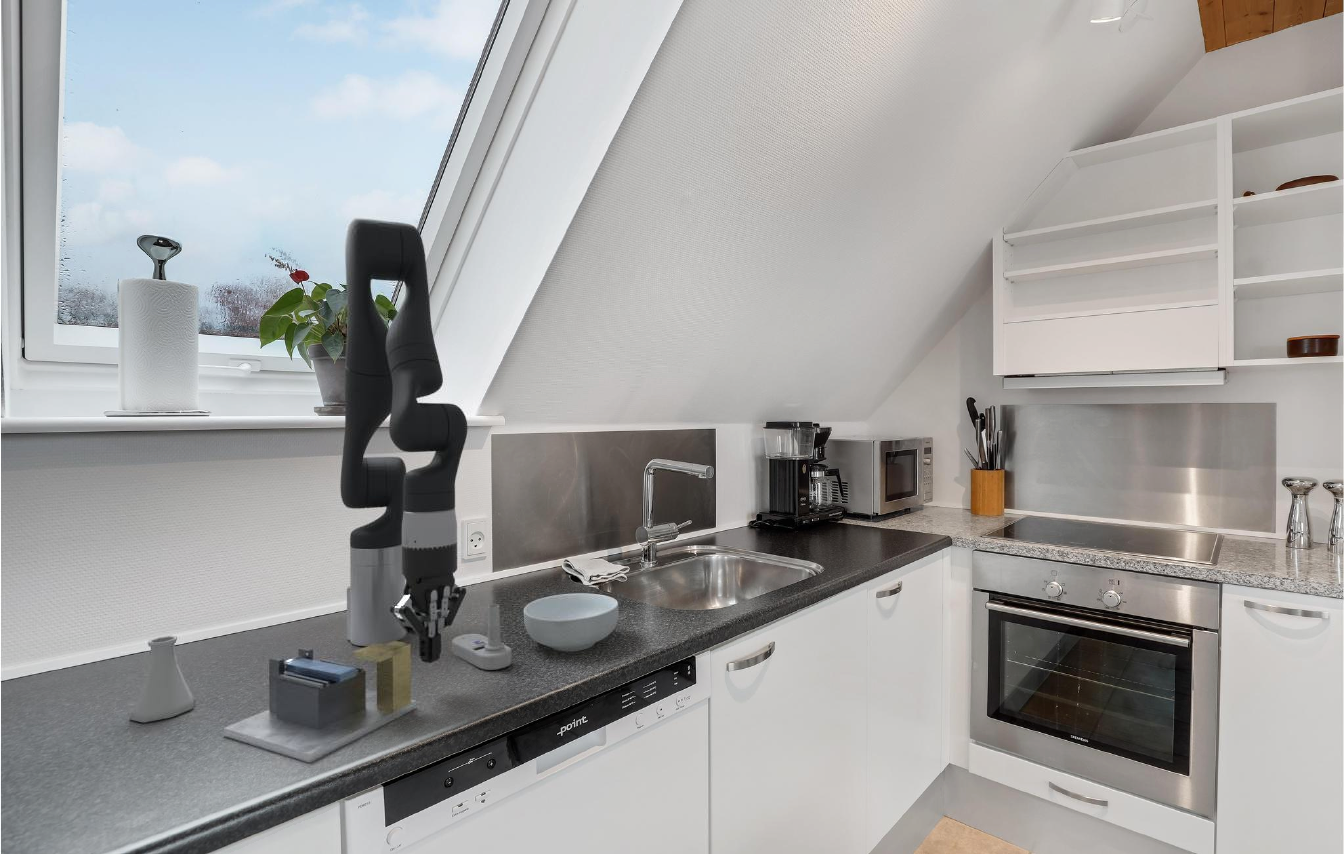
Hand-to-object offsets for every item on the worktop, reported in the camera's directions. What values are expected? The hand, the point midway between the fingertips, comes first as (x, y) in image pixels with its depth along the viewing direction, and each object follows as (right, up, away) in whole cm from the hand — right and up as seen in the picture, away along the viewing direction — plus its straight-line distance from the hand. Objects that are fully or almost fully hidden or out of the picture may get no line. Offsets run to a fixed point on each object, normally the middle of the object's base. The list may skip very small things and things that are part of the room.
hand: (430, 660), depth 94 cm
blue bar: (-12, +1, -8) cm, 14 cm away
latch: (-4, -4, -7) cm, 9 cm away
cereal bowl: (+17, -5, +22) cm, 28 cm away
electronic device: (+3, -5, +15) cm, 16 cm away
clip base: (-11, -5, -8) cm, 15 cm away
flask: (-35, -6, -5) cm, 36 cm away
